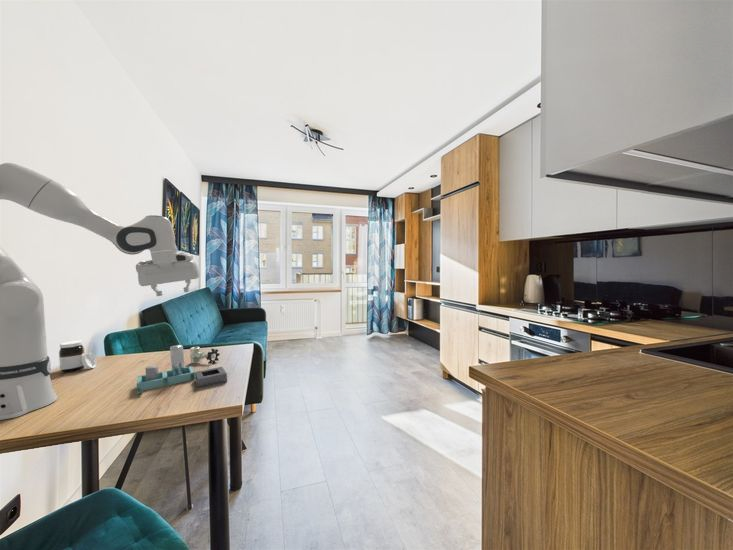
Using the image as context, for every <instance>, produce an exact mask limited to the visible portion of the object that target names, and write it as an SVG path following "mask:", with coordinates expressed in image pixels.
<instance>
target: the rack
mask: <svg viewBox="0 0 733 550" xmlns="http://www.w3.org/2000/svg"><path fill="white" fill-rule="evenodd" d="M184 368H185V374H182V375H177V376H172V369H169V370H164V371H159V366H158V365H150V366H147V367H145V374H144V375H143V374H142V375H138V376H137V379H136V394H137V395H140V394H139V393H141V394H143V391H145V390H151V389H155V388H156V389H157V388H160V387H164V386H166V387H167V386H170V385H175V384H180V383H184V382H188V381H189V382H190V381H195V372H196V371H195V369H194V367H193V365H192V366H190V365H189V366H184Z"/></svg>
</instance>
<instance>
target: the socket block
mask: <svg viewBox="0 0 733 550" xmlns="http://www.w3.org/2000/svg"><path fill="white" fill-rule="evenodd" d="M194 372H195V380H194V381H195V383H196V385H197V389H201V388H205V387H211V386H215V385H220V384H223V383H227V382H228V373H227V372H226V370H225V369H224V367H223V366H218V367H214V368H208V369H203V370H197V371H194Z"/></svg>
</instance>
